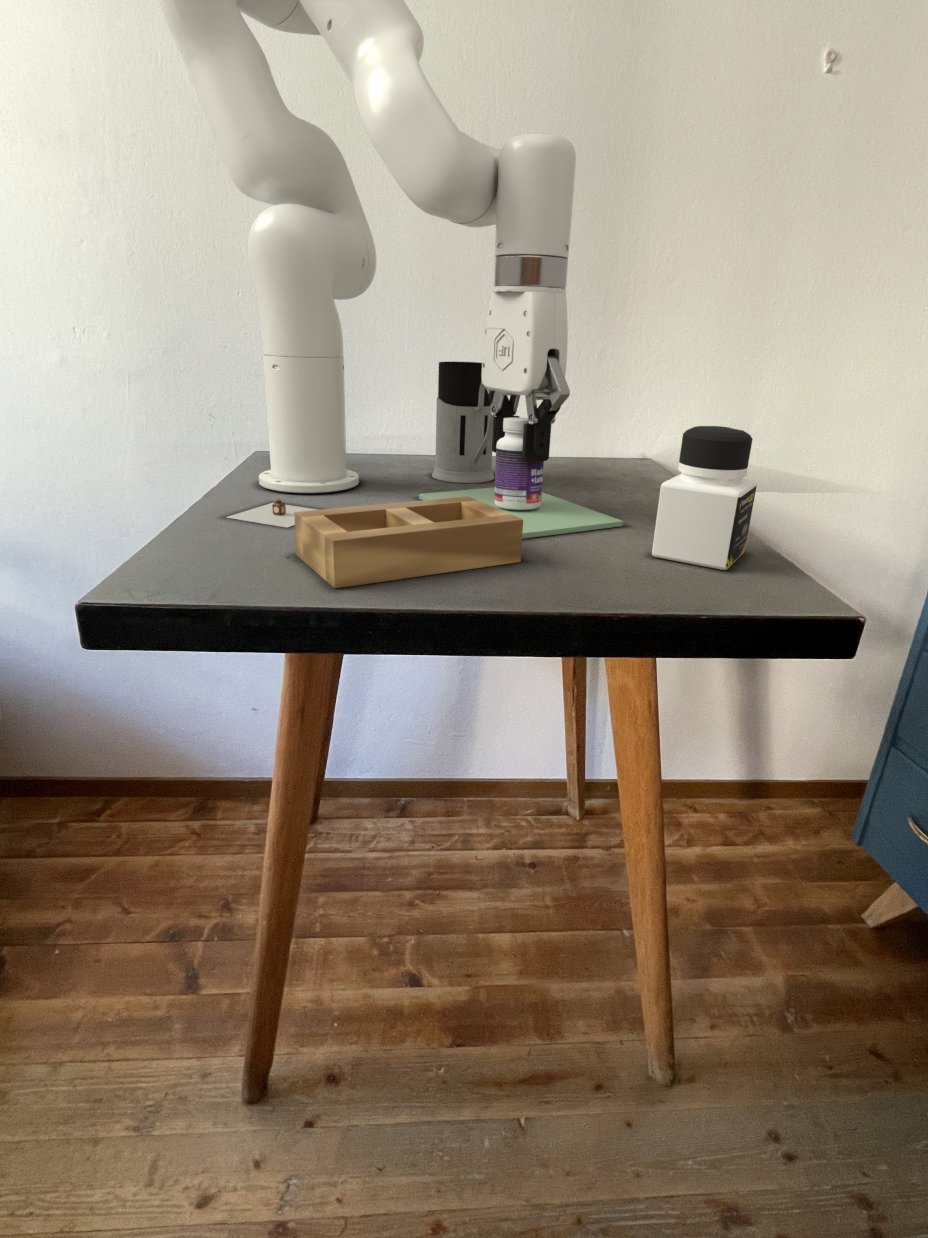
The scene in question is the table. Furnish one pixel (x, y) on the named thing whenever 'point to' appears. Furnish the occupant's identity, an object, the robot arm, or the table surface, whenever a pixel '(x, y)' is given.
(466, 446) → the glass holder
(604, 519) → the mat
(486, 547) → the holder
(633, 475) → the table surface
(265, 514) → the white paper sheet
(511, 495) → the pill bottle
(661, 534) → the medicine bottle
